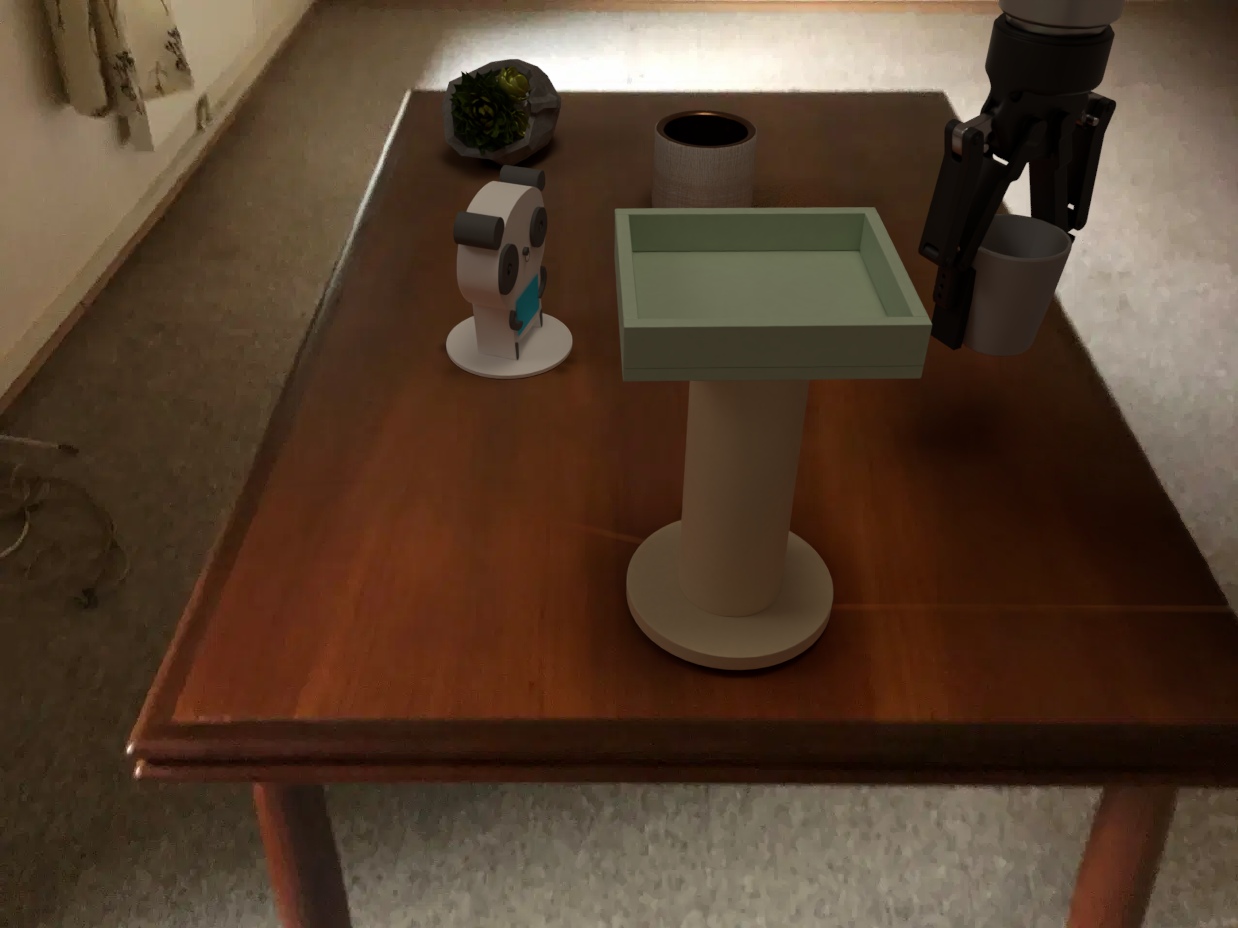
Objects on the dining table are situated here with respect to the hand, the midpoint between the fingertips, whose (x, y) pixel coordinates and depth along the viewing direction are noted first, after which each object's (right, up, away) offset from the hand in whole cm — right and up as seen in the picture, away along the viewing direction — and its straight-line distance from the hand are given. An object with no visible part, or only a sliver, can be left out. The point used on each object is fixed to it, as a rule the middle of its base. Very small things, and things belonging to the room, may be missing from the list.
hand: (982, 328), depth 87 cm
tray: (-20, -19, -9) cm, 29 cm away
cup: (+1, 0, 0) cm, 1 cm away
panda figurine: (-38, 0, +16) cm, 41 cm away
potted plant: (-41, +26, +48) cm, 69 cm away
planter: (-19, +17, +38) cm, 45 cm away
